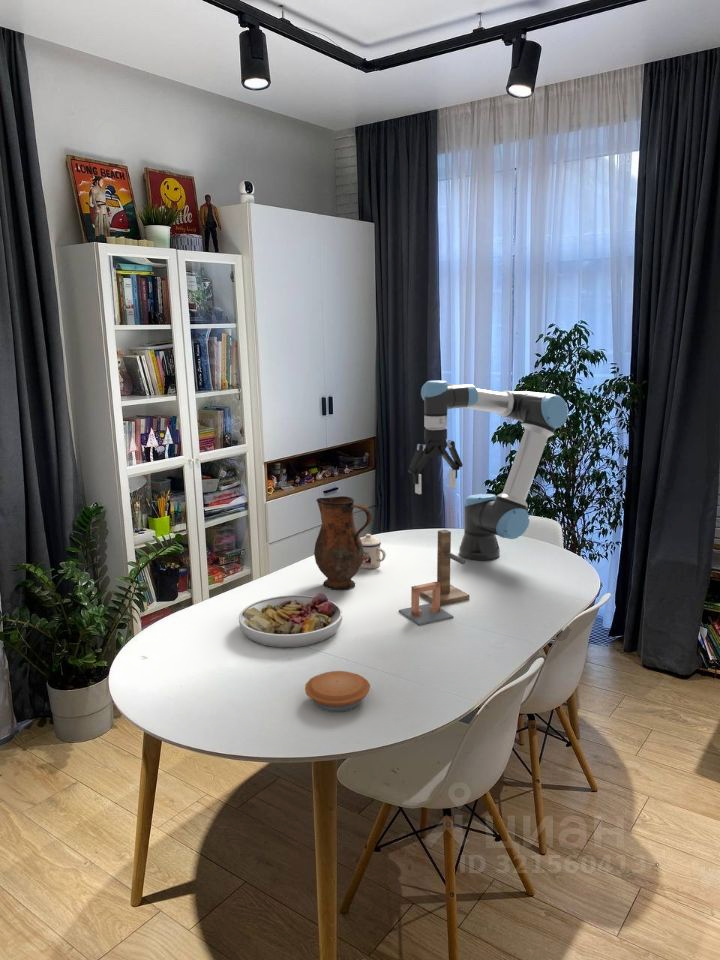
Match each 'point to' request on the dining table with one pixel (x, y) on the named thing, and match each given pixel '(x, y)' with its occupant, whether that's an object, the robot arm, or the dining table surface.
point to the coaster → (426, 615)
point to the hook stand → (446, 572)
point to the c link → (421, 588)
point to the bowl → (291, 620)
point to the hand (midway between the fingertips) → (435, 490)
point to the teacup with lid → (371, 552)
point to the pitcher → (339, 542)
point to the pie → (337, 690)
